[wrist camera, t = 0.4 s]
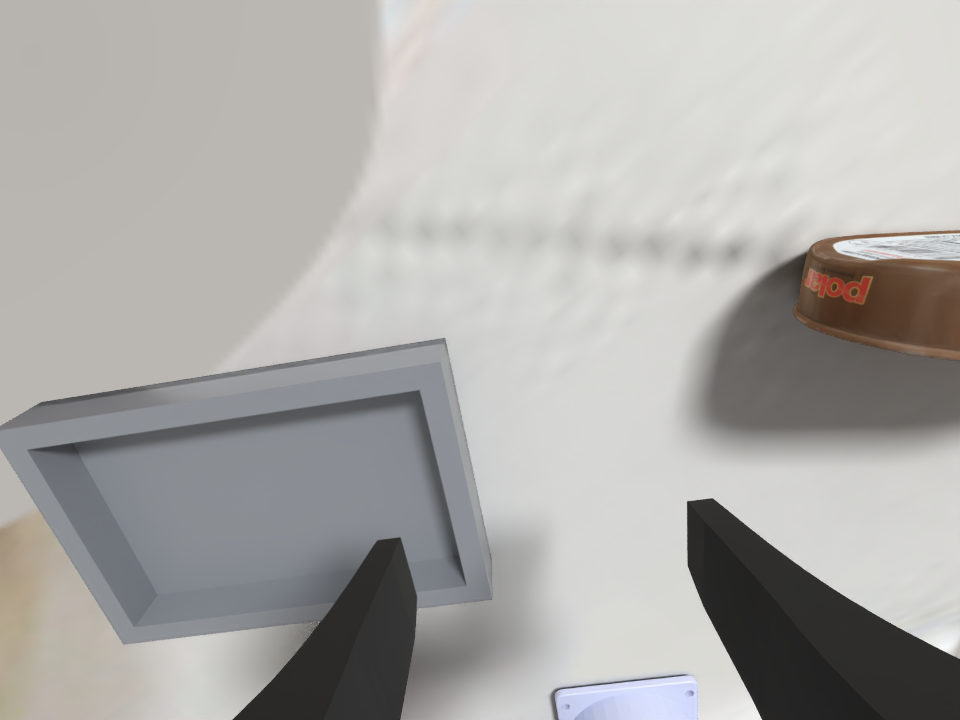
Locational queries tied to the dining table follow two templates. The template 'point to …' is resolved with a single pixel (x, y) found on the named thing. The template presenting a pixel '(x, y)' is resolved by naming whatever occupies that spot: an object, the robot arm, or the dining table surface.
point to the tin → (886, 291)
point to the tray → (258, 489)
